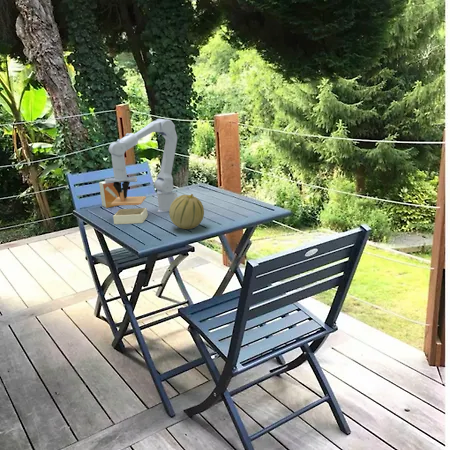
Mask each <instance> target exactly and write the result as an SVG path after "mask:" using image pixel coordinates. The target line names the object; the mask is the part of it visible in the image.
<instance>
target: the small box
mask: <svg viewBox="0 0 450 450" xmlns="http://www.w3.org/2000/svg"><path fill="white" fill-rule="evenodd" d="M98 184H99V185H98V186H99V193H100V200H101V205H102V207H104V208H106V209H107V208H113V207H118V206H120V205H111V203H112V202H113V201H114V200H115V199H116V198H117V197H119V194H118V192H117V190H116V189H115V187H114V186H113V184H114V183H107V184H105V180H103V181H99V182H98Z"/></svg>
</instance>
